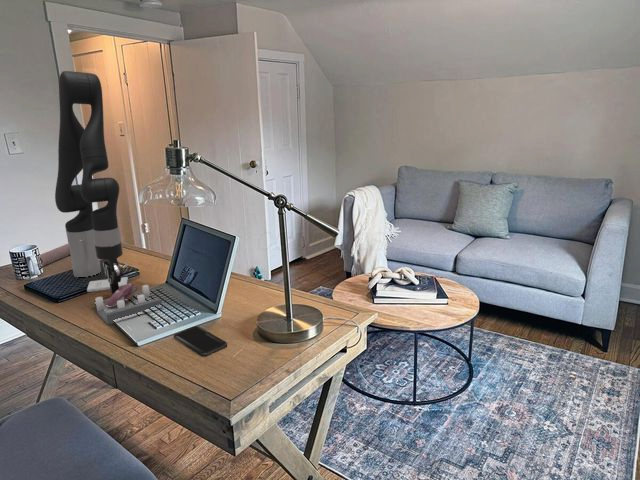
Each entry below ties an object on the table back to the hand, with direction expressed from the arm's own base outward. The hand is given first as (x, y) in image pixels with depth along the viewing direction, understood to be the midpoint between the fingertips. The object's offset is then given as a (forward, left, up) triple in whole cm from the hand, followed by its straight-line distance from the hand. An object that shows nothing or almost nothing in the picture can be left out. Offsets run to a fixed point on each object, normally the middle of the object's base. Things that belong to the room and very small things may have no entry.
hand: (115, 293), depth 148 cm
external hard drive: (-14, +2, -3) cm, 15 cm away
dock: (+12, 0, -2) cm, 12 cm away
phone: (+44, +7, -3) cm, 45 cm away
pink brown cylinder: (-58, -5, -3) cm, 58 cm away
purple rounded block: (+4, +1, -2) cm, 5 cm away
